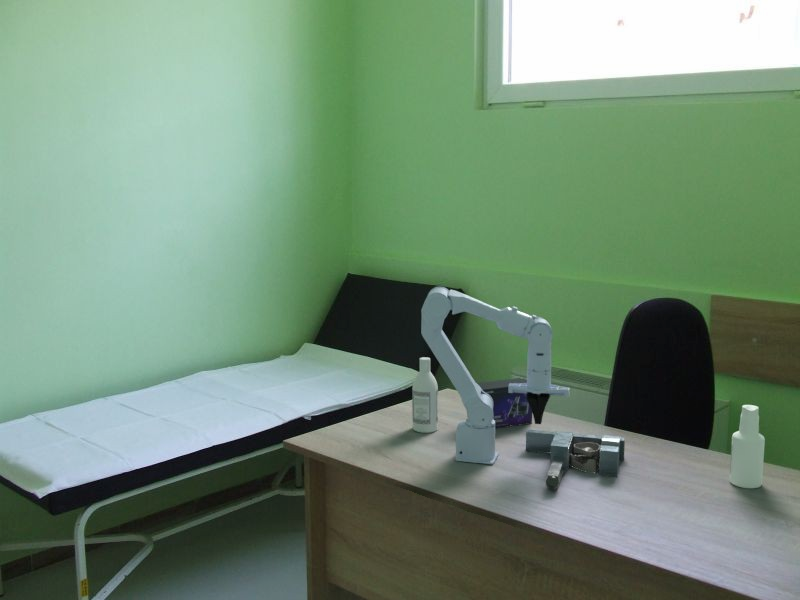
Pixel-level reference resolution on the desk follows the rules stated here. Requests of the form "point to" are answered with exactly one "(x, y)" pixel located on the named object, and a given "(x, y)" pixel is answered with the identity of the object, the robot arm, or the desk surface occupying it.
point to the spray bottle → (747, 450)
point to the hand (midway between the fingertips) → (538, 422)
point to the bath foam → (425, 399)
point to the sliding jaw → (559, 457)
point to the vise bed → (609, 444)
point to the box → (508, 403)
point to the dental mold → (586, 456)
